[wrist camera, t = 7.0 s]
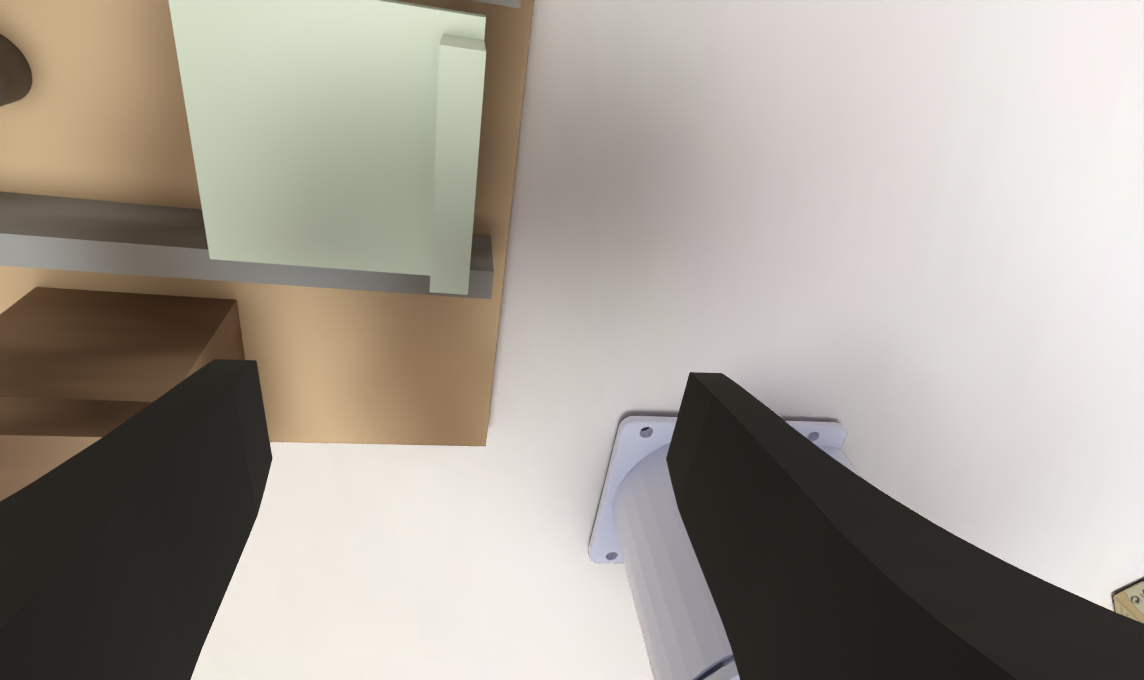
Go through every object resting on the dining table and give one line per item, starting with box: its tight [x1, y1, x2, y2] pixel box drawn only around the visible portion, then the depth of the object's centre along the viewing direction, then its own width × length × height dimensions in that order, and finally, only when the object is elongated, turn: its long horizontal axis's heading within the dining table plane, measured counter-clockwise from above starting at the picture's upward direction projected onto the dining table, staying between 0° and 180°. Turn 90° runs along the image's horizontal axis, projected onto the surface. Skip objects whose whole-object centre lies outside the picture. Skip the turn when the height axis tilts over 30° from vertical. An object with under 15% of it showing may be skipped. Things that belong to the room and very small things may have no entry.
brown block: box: [0, 287, 245, 501], centre depth 16 cm, size 5×5×6 cm
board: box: [0, 0, 534, 446], centre depth 16 cm, size 16×15×3 cm
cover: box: [168, 0, 486, 295], centre depth 12 cm, size 6×6×2 cm
